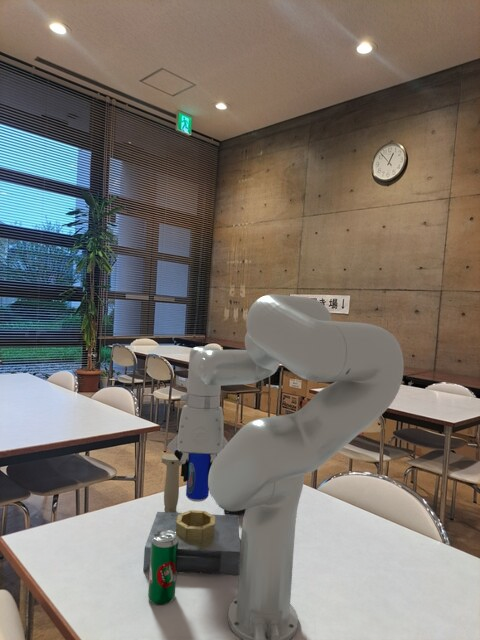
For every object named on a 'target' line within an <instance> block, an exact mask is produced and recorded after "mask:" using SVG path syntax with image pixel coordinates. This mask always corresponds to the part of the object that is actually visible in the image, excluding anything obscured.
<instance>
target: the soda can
mask: <svg viewBox="0 0 480 640" xmlns="http://www.w3.org/2000/svg"><path fill="white" fill-rule="evenodd" d="M177 554H178V539H177V535H176V533H175V532H173V531H171V530H161V531H158V532H156V533H155V534H154V537H153V539H152V541H151V556H150V571H149V573H148V574H149V575H148V593H147V594H148V595H147V597H148V599H149V601H150V602H152V604H155V605H157V606H164V605H167V604H169V603H171V602H172V601H173V599H174V598H175V596H176V583H177V582H176V581H177V572H176V571H177Z"/></svg>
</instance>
